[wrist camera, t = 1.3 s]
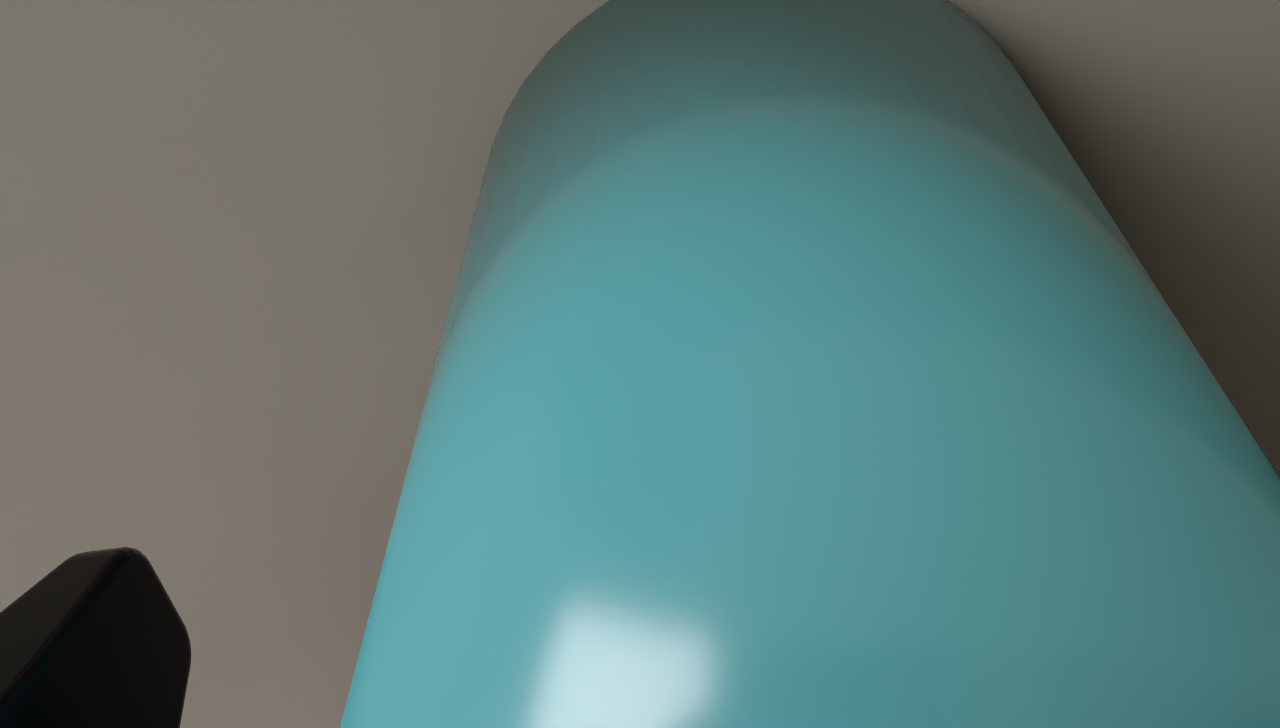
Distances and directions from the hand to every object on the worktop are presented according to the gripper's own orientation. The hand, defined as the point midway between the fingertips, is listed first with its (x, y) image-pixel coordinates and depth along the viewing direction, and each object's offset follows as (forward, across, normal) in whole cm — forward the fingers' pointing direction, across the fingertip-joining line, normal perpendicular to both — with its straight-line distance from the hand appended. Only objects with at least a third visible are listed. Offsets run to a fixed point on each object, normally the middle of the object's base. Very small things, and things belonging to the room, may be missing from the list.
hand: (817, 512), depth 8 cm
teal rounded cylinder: (+4, 0, 0) cm, 4 cm away
